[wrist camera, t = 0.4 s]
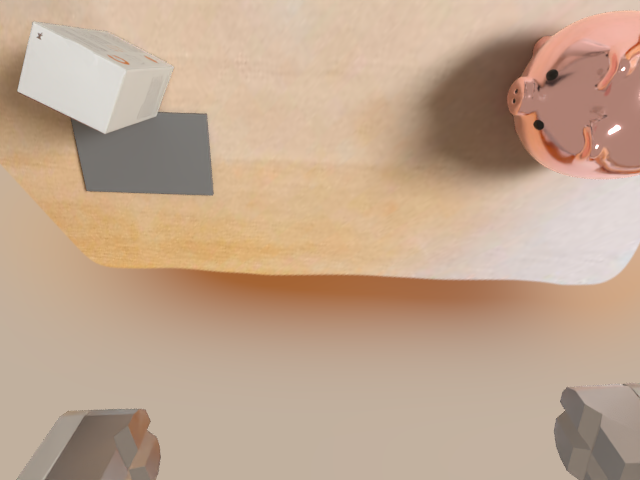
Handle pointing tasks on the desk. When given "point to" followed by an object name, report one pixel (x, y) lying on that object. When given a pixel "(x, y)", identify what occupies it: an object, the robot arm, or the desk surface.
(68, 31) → the small box
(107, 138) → the mat
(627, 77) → the piggy bank
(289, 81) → the desk surface
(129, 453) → the robot arm
